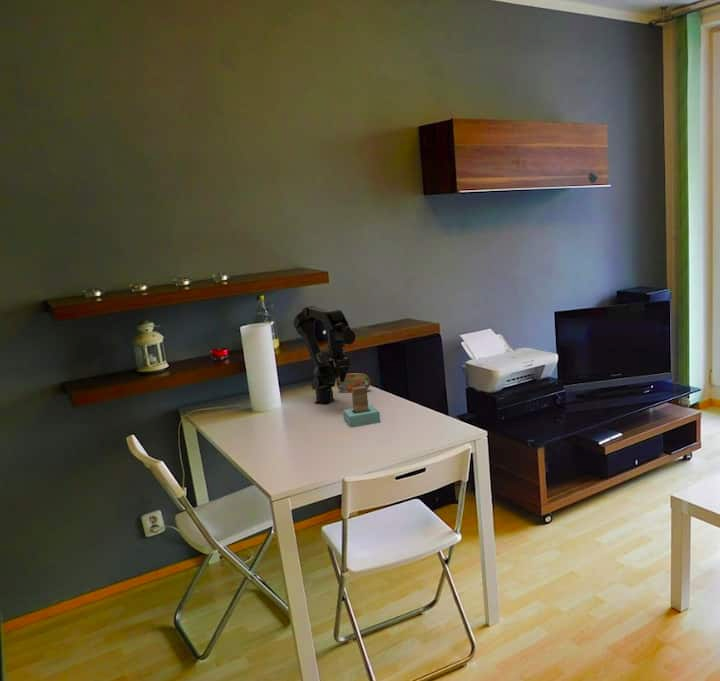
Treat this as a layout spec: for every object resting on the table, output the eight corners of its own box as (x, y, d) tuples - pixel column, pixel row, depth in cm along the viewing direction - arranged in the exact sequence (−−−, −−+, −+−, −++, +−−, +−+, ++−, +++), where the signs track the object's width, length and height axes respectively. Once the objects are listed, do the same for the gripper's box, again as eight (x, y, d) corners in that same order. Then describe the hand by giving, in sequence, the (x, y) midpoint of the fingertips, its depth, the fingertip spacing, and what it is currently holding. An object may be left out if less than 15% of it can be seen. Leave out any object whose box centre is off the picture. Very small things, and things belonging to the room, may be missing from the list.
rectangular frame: (344, 419, 233) (343, 409, 232) (372, 415, 236) (371, 405, 235) (350, 427, 224) (349, 416, 223) (380, 421, 227) (379, 411, 226)
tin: (337, 392, 272) (335, 374, 270) (339, 391, 275) (337, 372, 273) (370, 392, 268) (368, 373, 267) (371, 390, 271) (370, 372, 270)
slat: (354, 420, 231) (351, 387, 228) (366, 418, 232) (364, 385, 230) (356, 423, 228) (353, 389, 225) (369, 420, 229) (366, 387, 227)
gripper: (311, 340, 250) (315, 377, 253) (321, 348, 232) (325, 387, 235) (337, 337, 253) (340, 373, 256) (349, 344, 235) (353, 383, 238)
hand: (339, 379), depth 246 cm, fingers open, 9 cm apart
